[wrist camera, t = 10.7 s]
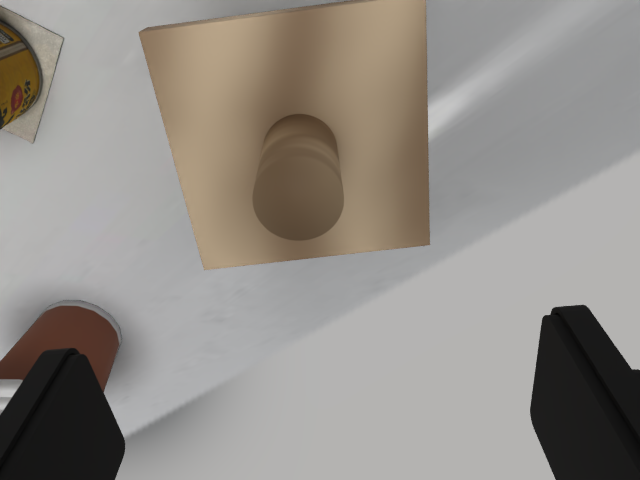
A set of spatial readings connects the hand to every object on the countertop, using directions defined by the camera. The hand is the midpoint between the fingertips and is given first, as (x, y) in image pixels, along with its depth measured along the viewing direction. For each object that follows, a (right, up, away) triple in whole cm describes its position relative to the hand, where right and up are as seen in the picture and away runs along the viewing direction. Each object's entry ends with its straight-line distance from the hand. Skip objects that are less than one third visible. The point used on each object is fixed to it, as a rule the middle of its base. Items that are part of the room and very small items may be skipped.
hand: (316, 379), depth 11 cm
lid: (-1, +7, +13) cm, 15 cm away
